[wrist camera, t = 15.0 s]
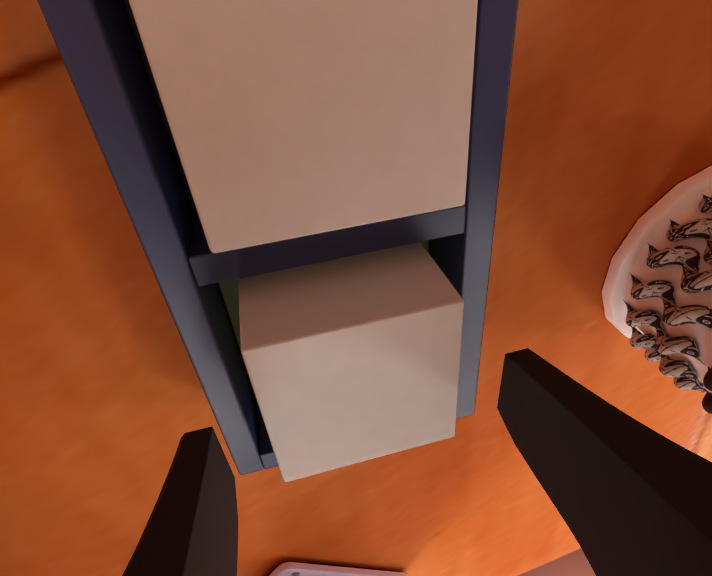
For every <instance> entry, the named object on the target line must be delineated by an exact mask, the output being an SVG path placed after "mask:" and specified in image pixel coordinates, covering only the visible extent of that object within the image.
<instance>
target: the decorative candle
mask: <svg viewBox="0 0 712 576" xmlns="http://www.w3.org/2000/svg"><path fill="white" fill-rule="evenodd" d="M602 299H603V305H604V312H605V318H606V319H607V320H608V321H609V322H611V323H612V324H613V325H614V326H615V327H616V328H617V329H618V330H619V331H620V332H621V333H622V334H624V335H625V336H626V337H628V338H631V339H630V344H631V345H632V346H633V347H635V348H646V349H645V358H646V359H647V360H648V361H651V362H655V361H660V366H659V370H660V372H661V373H662V374H663V375H665V376H668V377H674V384H675V385H676V387H678V388H679V389H681V390H700V391H701V392H703V393H706V395H705V396H704V398H703V401H702V406H703V408H704V410H705V411H707V412H708V413H709V414H712V166H710V167H708V168H706V169H704V170H702V171H701V172H699V173H697V174H695V175H693V176H691V177H689V178H688V179H686V180H684V181H682V182H680V183H678V184H677V185H676V186H675V187H673V188H672V189H671V190H670V191H669V192H668V193H667V194H666V195H665V196H664V197H662V198H661V199H660V200H659V201H658V202H657V203H656V204H655V205H654V206H652V207H651V208H650V209H649V210H648V211H647V212H646V213H645V214H644V215H643V216H641V217H640V218H639V219H638V221H637V222H636V224H635V225H634V227H633V228H632V229H631V231H630V232H629V234H628V235H627V237H626V238H625V240H624V241H623V243H622V244H621V246H620V247H619V248H618V250H617V251H616V253H615V254H614V256H613V257H612V260H611V263H610V266H609V270H608V273H607V276H606V279H605V282H604V285H603V289H602Z"/></svg>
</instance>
